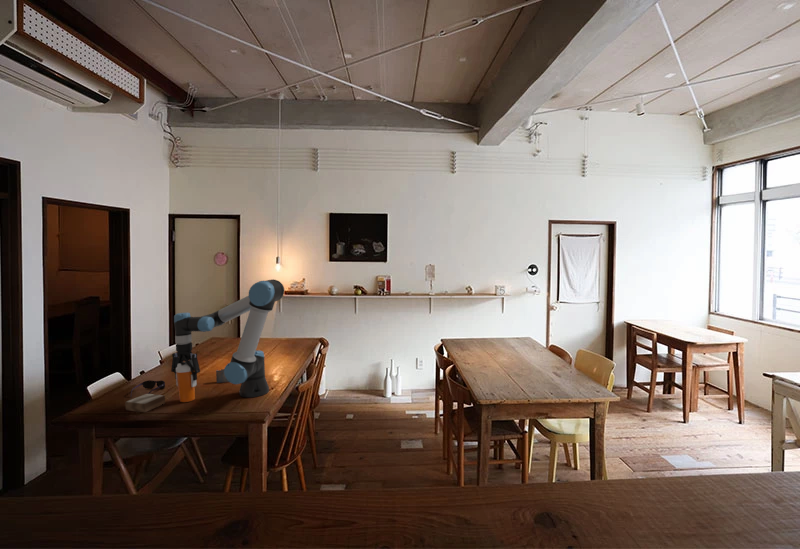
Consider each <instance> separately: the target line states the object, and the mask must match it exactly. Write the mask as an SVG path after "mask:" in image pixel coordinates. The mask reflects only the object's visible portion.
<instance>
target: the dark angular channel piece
mask: <svg viewBox="0 0 800 549" xmlns="http://www.w3.org/2000/svg"><path fill="white" fill-rule="evenodd" d="M215 373H216V374H215V378H216V384H217V383H218V384H220V383H230V382H229V381H228V380H227V379H226V377H225V375H224V368H222V369H221V370H218V369H216V370H215Z"/></svg>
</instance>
